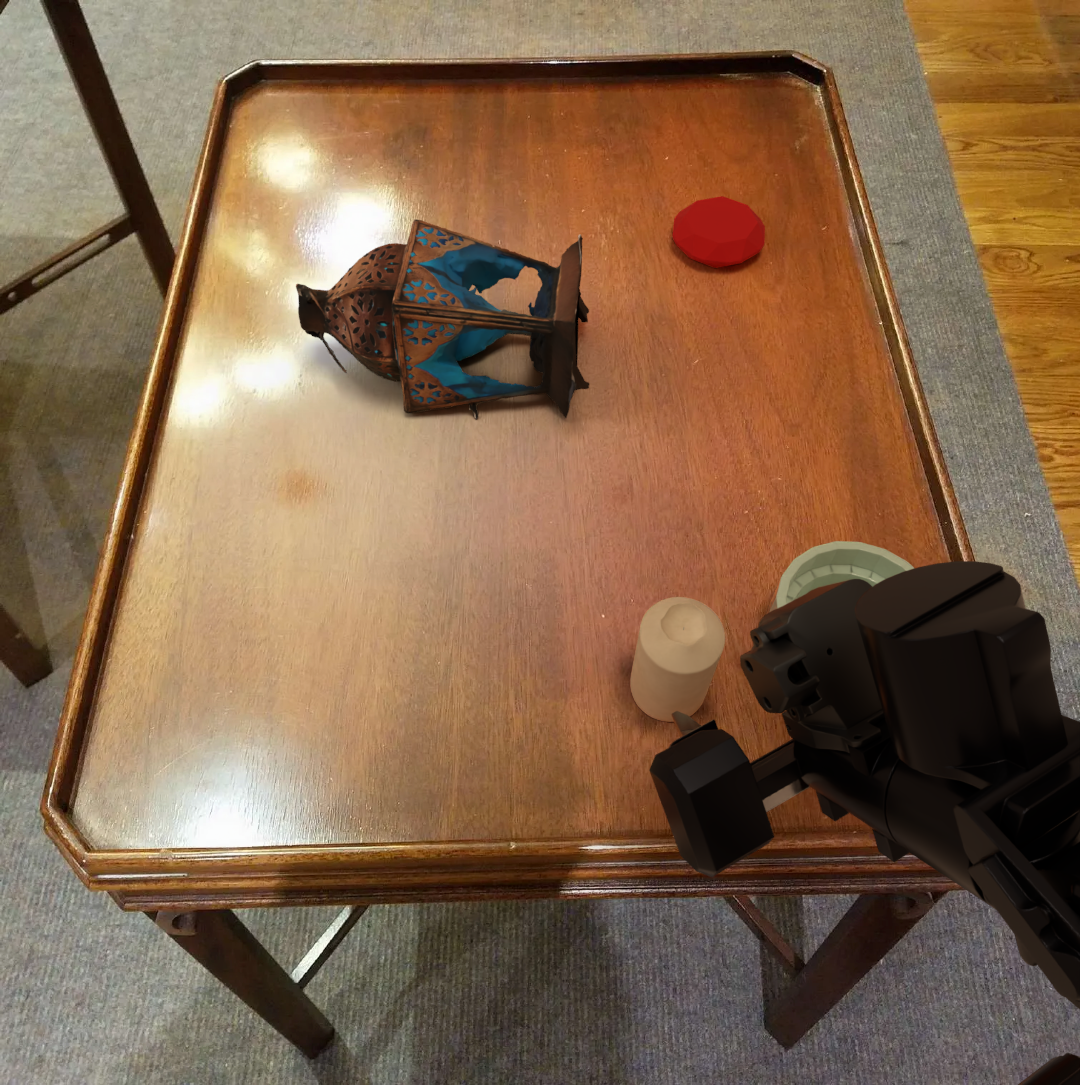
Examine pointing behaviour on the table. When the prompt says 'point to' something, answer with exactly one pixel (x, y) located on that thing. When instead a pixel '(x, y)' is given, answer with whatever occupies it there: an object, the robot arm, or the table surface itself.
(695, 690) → the candle
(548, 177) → the table surface
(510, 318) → the lantern
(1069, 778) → the robot arm
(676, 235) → the gemstone
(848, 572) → the bowl
